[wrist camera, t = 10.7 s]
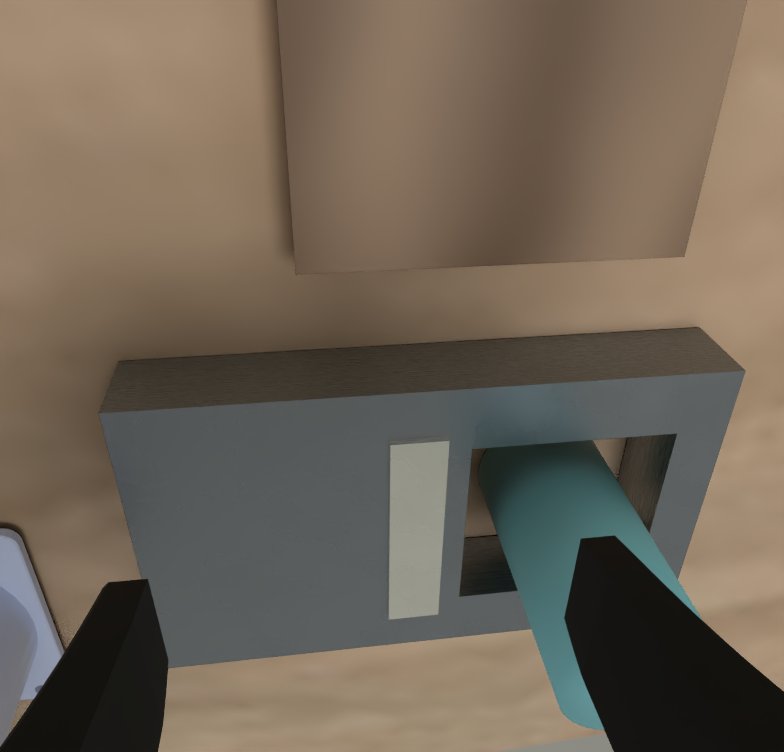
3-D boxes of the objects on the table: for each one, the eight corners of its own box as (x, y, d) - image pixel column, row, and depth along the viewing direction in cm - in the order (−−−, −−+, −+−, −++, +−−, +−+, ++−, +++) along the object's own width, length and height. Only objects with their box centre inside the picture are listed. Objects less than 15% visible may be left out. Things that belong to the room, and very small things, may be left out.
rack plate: (175, 606, 25) (164, 673, 22) (118, 361, 19) (97, 418, 17) (635, 560, 27) (668, 619, 24) (699, 327, 21) (749, 374, 19)
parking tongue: (294, 251, 18) (295, 274, 17) (272, -67, 15) (271, -67, 13) (657, 235, 19) (684, 256, 18) (724, -62, 16) (762, -62, 14)
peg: (474, 516, 24) (547, 738, 18) (482, 422, 22) (570, 634, 15) (585, 506, 25) (698, 719, 18) (604, 413, 23) (740, 615, 16)
